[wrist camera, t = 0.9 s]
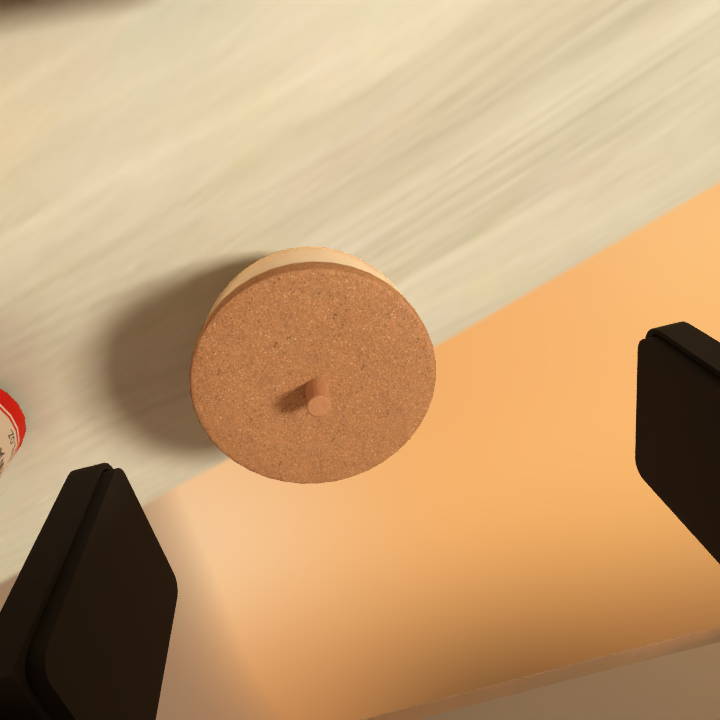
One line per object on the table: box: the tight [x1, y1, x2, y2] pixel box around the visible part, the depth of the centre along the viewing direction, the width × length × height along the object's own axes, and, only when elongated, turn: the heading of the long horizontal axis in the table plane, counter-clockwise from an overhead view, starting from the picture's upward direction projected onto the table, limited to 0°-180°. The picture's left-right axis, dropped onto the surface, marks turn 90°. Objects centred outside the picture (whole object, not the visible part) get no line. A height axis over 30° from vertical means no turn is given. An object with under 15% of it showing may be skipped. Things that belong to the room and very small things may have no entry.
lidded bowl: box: [190, 247, 436, 484], centre depth 33 cm, size 13×13×11 cm
